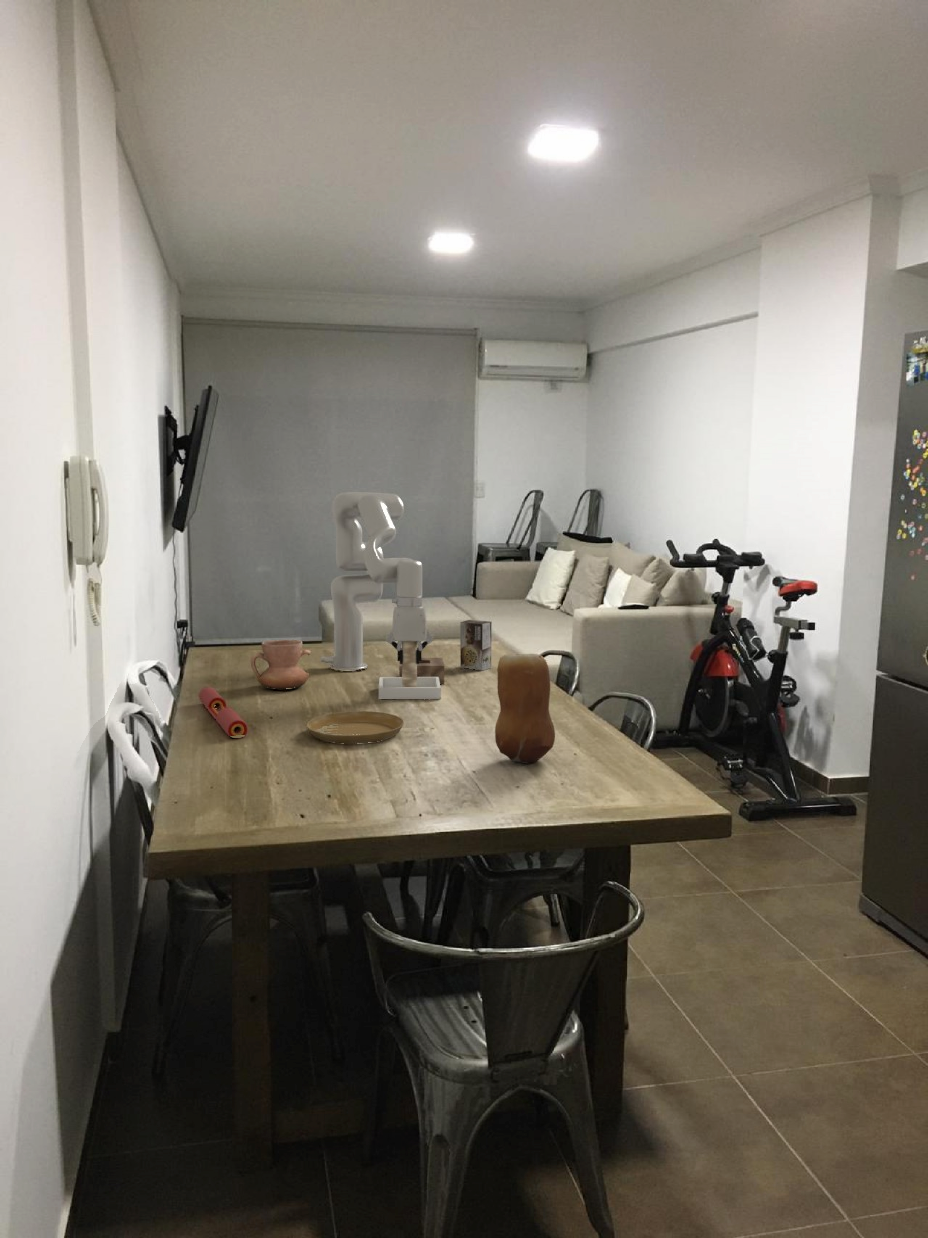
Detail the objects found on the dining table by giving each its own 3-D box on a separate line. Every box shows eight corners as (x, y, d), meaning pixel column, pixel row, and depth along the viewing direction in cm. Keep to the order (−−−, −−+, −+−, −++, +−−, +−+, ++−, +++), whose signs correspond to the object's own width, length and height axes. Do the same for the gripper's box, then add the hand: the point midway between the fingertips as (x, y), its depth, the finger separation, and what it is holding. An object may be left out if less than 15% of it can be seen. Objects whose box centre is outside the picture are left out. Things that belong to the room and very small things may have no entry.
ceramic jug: (310, 681, 305) (308, 637, 303) (313, 690, 291) (311, 644, 289) (251, 685, 301) (249, 640, 299) (252, 694, 287) (250, 647, 285)
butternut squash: (518, 750, 228) (519, 645, 225) (565, 760, 220) (568, 652, 217) (481, 762, 218) (482, 653, 214) (530, 774, 209) (532, 660, 206)
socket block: (399, 684, 301) (399, 665, 300) (399, 676, 315) (399, 657, 314) (444, 684, 302) (444, 665, 301) (442, 675, 316) (442, 657, 315)
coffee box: (492, 668, 330) (492, 621, 328) (482, 671, 324) (482, 623, 322) (469, 665, 335) (469, 619, 332) (459, 668, 329) (459, 621, 327)
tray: (378, 700, 280) (378, 688, 279) (379, 688, 296) (379, 677, 295) (440, 699, 281) (440, 687, 281) (438, 688, 297) (438, 676, 296)
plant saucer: (312, 751, 227) (312, 737, 227) (301, 726, 250) (301, 713, 250) (413, 744, 234) (413, 731, 233) (393, 721, 257) (393, 708, 256)
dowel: (402, 688, 286) (402, 638, 284) (402, 685, 290) (402, 636, 288) (417, 688, 286) (417, 638, 284) (416, 685, 290) (416, 636, 288)
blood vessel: (248, 739, 238) (247, 719, 237) (227, 741, 236) (227, 721, 235) (217, 703, 275) (216, 686, 275) (199, 704, 273) (198, 687, 273)
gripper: (380, 603, 280) (380, 666, 283) (438, 604, 281) (438, 665, 284) (381, 600, 288) (381, 661, 290) (437, 600, 289) (437, 661, 291)
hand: (409, 662), depth 287 cm, fingers closed on dowel, 4 cm apart
